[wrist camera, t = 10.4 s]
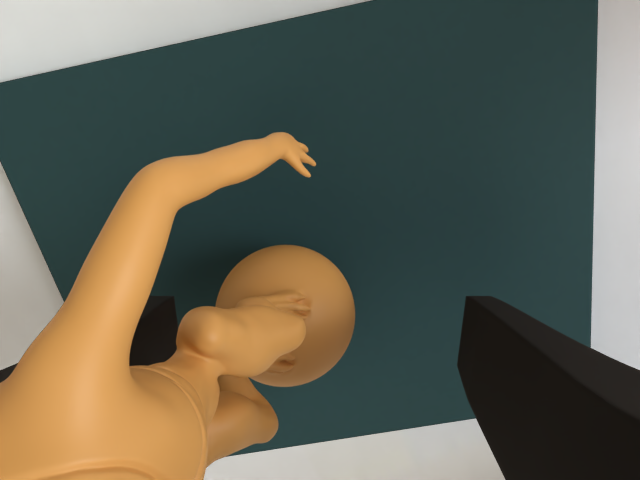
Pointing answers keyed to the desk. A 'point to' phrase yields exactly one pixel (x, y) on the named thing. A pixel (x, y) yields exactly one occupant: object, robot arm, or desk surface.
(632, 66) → the desk surface
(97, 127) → the mat
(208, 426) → the figurine
